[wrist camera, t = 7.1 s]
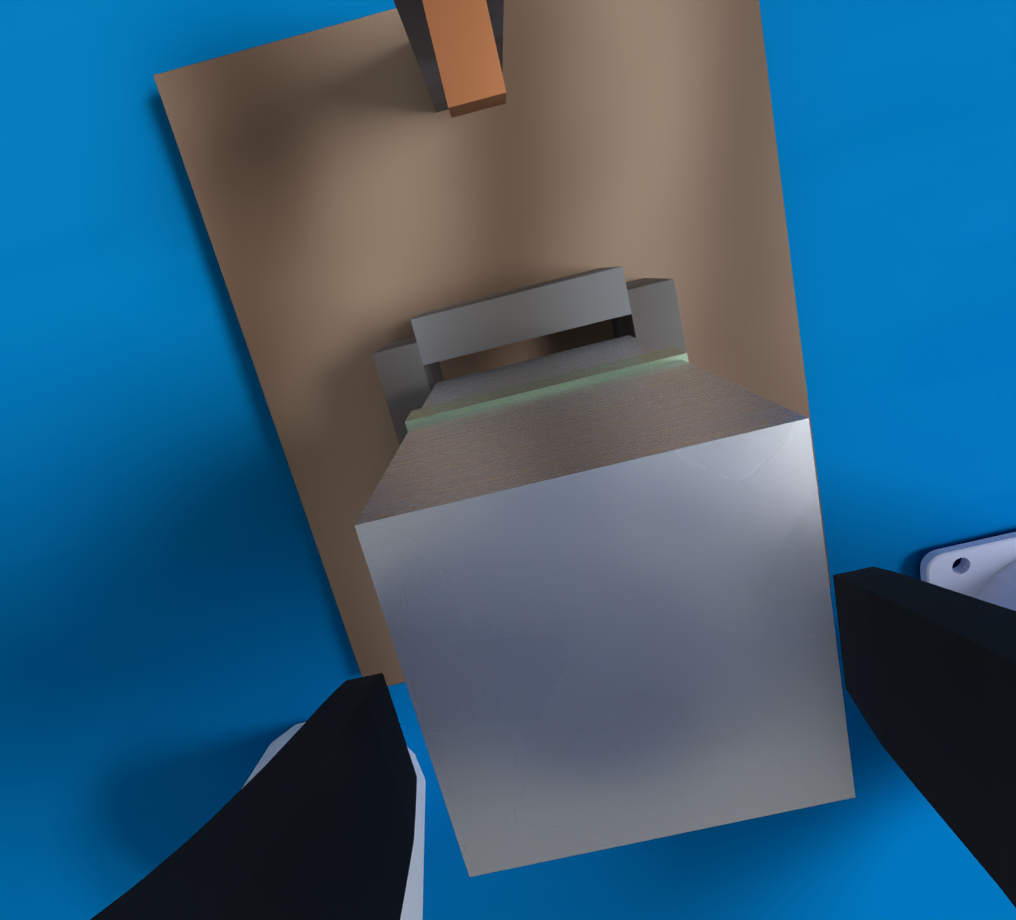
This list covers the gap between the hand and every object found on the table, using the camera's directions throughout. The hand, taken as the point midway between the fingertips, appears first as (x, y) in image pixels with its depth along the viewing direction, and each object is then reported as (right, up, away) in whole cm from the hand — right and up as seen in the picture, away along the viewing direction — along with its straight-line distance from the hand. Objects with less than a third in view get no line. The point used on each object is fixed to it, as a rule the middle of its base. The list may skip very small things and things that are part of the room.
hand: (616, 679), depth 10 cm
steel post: (-1, +4, +4) cm, 5 cm away
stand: (-1, +6, +8) cm, 10 cm away
